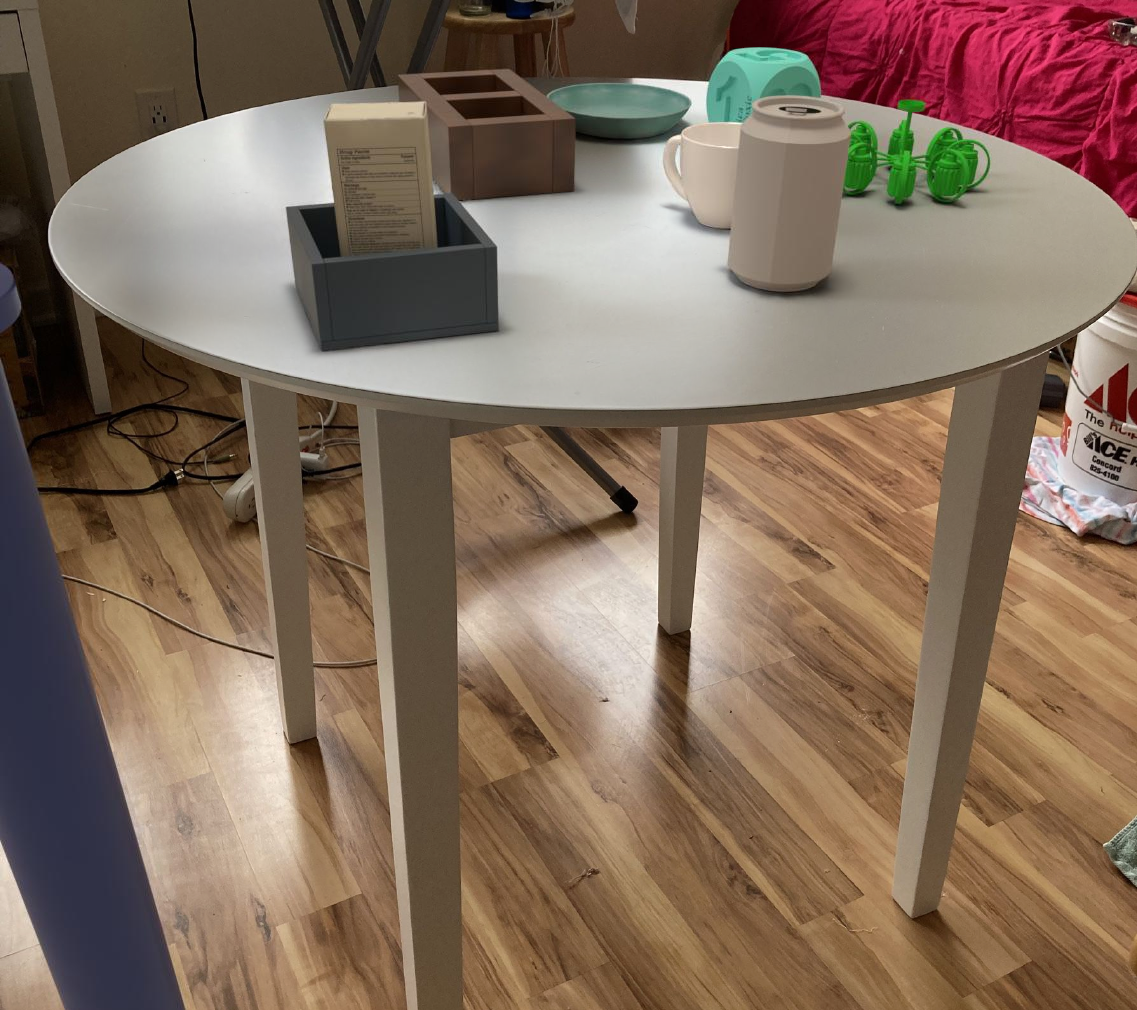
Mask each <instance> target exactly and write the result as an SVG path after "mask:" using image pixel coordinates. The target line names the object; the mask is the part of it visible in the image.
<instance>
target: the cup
mask: <svg viewBox="0 0 1137 1010" xmlns="http://www.w3.org/2000/svg"><path fill="white" fill-rule="evenodd" d="M741 124H742V123H731V122H714V123H709V122H703V123H697V124H694V125H690V126H687V127H685V128H684V129H683V130H682V131H681V134H676V135H673V136H672V137H670V138H669V139H668V140H667V141H666V144H665V146H664V149H663V156H662V165H663V170H664V173H665V175H666V178H667V180H668V182H669V184H670V185H671V187H672V188H673V190H675V192H676V193H677V195H678V196H679V197H680V198H682V199H683V200H685V201H687V203H688V205H689V207H690V209H691V212H692V213H693V215H694V216H695V218H696V220H697V221H698V223H699V224H701V225H703V226H706V227H709V228H713V229H714V228H715V229H725V230H728V229H729V230H731V223H732V212H733V202H734V191H735V181H736V171H737V160H738V150H739V139H740V129H741ZM679 146H680V147H679ZM678 148H679V170H678V167H677V163H676V154H677V150H678ZM679 172H680V173H679Z"/></svg>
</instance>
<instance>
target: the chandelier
mask: <svg viewBox="0 0 1137 1010" xmlns="http://www.w3.org/2000/svg"><path fill="white" fill-rule="evenodd" d="M925 107H926V102H924V101H922V100H917V99H900V100H899V101H898V104H897V109H898V110H900V111H904V112H907V116H906V119H901V122H900V123H899V124H898V128H894V129H893V130H892V134H891V135H890V138H889V141H888V147H887V153H885V152H882V151H880V150H878V148H879V142H878V137H877V134H876V132H875V129H874V128H873V126H872V125H871V124H870V123H869V122H867V121H865V120H856V121H853V122H851V123H849V124H847V126H848V127H849V129H850V130H851V129H853V127H854V126H856V128H855V129H854V130H851V139H850V146H849V153H848V160H847V166H846V173H845V180H844V187H843V193H845V194H848V195H851V196H855V195H858V194H860V193H862V192H864V191H865V190H866V189H867V188H868V187H869V185H870V184H871V182H872V181H873V179H874V177H875V175H876V172H877V169H878V167H883V166H887V165H889V166H892V167H891V168H890V170H889V175H888V181H887V187H886V193H887V195H888V196H889V197H892V198H894V204H897V205H901V204H902V203H903V199H909V198H911V196H912V195H913V194H914V189H915V183H916V178H917V173H918V172H917V168H919V169H921V170H923V171H926V183H927V187H928V190H929V192H930V194H931V195H932V196H933V198H935V199H936V200H937V201H939V202H941V203H950V202H954V201H957V200H958V199H960V198H961V197H962V196H963V195H964V194H965V193H966V191H969V190H972V189H974V188H977V186H979V185H980V184H982V182H983V181H984V180H985V179H986V178H987V176H988V174H989V172H990V169H991V157H990V153H989V150H988V149H987V148H986V146H985V145H984V144H983V143H982V142H980V141H979V140H976V139H973V138H972V139H971V138H965V139H964V137H963V134H962V132H961V130H959V129H957V128H955V127H951V126H945V127H943V128H941V129H940V130H939V131H937V133H936V134H934V136H933V138H931V140H930V142H929V144H928V147H927V149H926V152H925V154H921V155H915V156H912V155H913V150H914V144H915V136H914V133H915V131H914V130H912V129H910V128H911V123H912V117H913V113H919V112H924V111H925ZM954 134H955V136H956V137H954ZM975 145H976V146H978V147H980V148H981V150H983V151H984V153H985V155H986V158H987V164H986V168H985V171H984V173H983V175H982V176H981V177H980V178H979V179H978V180H977V181H976V182H974V181H975V178H976V175H977V169H978V165H979V156H978V155H979V151H978V150H977V149H975ZM879 156H882V157H879ZM923 159H924V160H923ZM878 161H883V162H879V163H878ZM922 164H924V165H922ZM847 189H849V190H847ZM850 189H851V190H850ZM945 197H952V198H945Z"/></svg>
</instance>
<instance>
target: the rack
mask: <svg viewBox="0 0 1137 1010" xmlns="http://www.w3.org/2000/svg"><path fill="white" fill-rule="evenodd" d="M397 85H398V86H397V88H398V102H426V104H427V115H428V128H429V140H430V152H431V166H432V179H433V181H434V182H435V183H436V184H437V185H438V187H439V188H440V189H441V190H442V191H443V194H448V193H453V195H454V196H455V197H456V198H457V199H458V201H469V200H482V199H493V198H505V197H507V198H508V197H517V196H528V195H530V196H531V195H541V194H551V193H552V194H553V193H563V192H575V174H576V172H575V171H576V170H575V169H576V131H575V124H576V119H575V118H574V117H573V116H571V115H570V114H569V113H567V112H566V111H565V110H563V109H562V108H561V107H559V106H558V105H557V104H555V103H554V102H553V101H551V100H550V99H549V98H547V95H545V94H543V93H542V92H540V91H539V90H538V89H537V88H535V86H533V85H531V84H530V83H529V82H527V81H526V80H525V79H523V78H522V77H521V76H519V75H518V74H517V73H515V72H514V71H513V70H512V69H510V68H501V69H500V68H497V69H479V70H464V71H463V70H462V71H444V72H425V73H424V72H422V73H405V74H397Z"/></svg>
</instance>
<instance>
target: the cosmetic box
mask: <svg viewBox="0 0 1137 1010" xmlns="http://www.w3.org/2000/svg"><path fill="white" fill-rule="evenodd" d="M323 125H324V135H325V142H326V143H325V144H326V149H327V151H326V152H327V158H328V159H327V160H328V165H329V166H328V167H329V173H330V181H331V188H332V189H331V190H332V197H333V203H334V206H335V215H336V223H337V230H338V238H339V246H340V254H341V257H345V256H356V255H367V254H377V253H388V252H398V251H409V250H420V249H430V248H438V246H437V232H436V219H435V206H434V195H435V194H434V182H433V181H434V179H433V178H432V166H431V152H430V140H429V128H428V115H427V104H426V102H399V101H391V102H389V101H387V102H351V103H331V104H330V106H329V107H328V110H327V111H326V113H325V115H324V117H323Z"/></svg>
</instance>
